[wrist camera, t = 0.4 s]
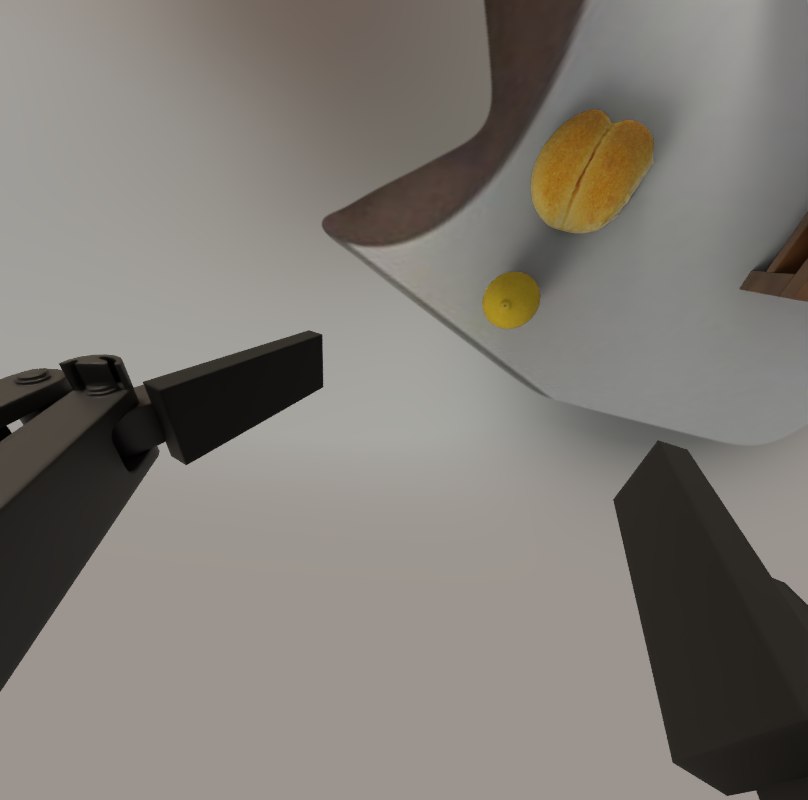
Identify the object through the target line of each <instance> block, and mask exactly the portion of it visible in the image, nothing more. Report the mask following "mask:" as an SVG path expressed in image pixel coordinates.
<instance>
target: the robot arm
mask: <svg viewBox="0 0 808 800" xmlns="http://www.w3.org/2000/svg"><path fill="white" fill-rule="evenodd" d="M322 354H323V353H322V334H319V333H315V332H312V331H306V332H302V333H299V334H296V335H293V336H290V337H286V338H284V339H280V340H277V341H273V342H270V343H267V344H264V345H261V346H258V347H254V348H251V349H248V350H244V351H241V352H238V353H235V354H232V355H228V356H225V357H222V358H219V359H216V360H212V361H209V362H206V363H203V364H199V365H196V366H193V367H190V368H186V369H183V370H180V371H177V372H174V373H170V374H167V375H164V376H161V377H158V378H154V379H151V380H148V381H145V382H143V384H144V385H141V386H138V387H134V388H133V386H132V383H131V380H130V378H129V376H128V373H127V371H126V368H125V366H124V363H123V361H122V359H121V358H120V357H117V356H114V355H90V356H83V357H77V358H74V359H69V360H67V361H64V362H62V363H60V364H59V365H60V366H61V369H62V370H63V371H62V370H58V369H45V368H44V369H39V370H38V369H32V370H29V371H24V372H21V373H18V374H15V375H11V376H8V377H6V378H3V379H0V691H1V690H2V688H3V687H4V685H5V684H6V682H7V681H8V679H9V678H10V676H11V675H12V673H13V672H14V670H15V669H16V667H17V666H18V665H19V663H20V662H21V660H22V659H23V657H24V656H25V654H26V653H27V651H28V650H29V648H30V647H31V645H32V644H33V642H34V641H35V639H36V638H37V636H38V635H39V633H40V631H41V630H42V629H43V627H44V626H45V624H46V623H47V621H48V620H49V618H50V617H51V615H52V614H53V612H54V611H55V609H56V608H57V606H58V605H59V603H60V602H61V600H62V599H63V597H64V596H65V594H66V593H67V591H68V589H69V588H70V587H71V585H72V584H73V582H74V581H75V579H76V578H77V576H78V575H79V573H80V572H81V570H82V569H83V567H84V566H85V565H86V563H87V561H88V560H89V559H90V557H91V556H92V554H93V553H94V551H95V550H96V548H97V547H98V545H99V544H100V542H101V541H102V539H103V537H104V536H105V535H106V533H107V532H108V530H109V529H110V527H111V526H112V524H113V523H114V521H115V520H116V518H117V517H118V515H119V514H120V512H121V510H122V509H123V508H124V506H125V505H126V503H127V502H128V500H129V499H130V497H131V496H132V494H133V493H134V491H135V490H136V488H137V487H138V485H139V484H140V482H141V481H142V479H143V478H144V476H145V475H146V473H147V472H148V470H149V469H150V467H151V466H152V464H153V463H154V461H155V460H156V459H157V457H158V455H159V449H158V447H157V445H159V444H161V443H164V442H166V444H167V446H168V449H169V451H170V454H171V456H172V457H174V458H176V459H177V460H179V461H180V462H182V463H184V464H185V465H187V464H189V463H191V462H193V461H194V460H196V459H198V458H200V457H201V456H203V455H205V454H207V453H208V452H210V451H212V450H214V449H215V448H217V447H219V446H221V445H222V444H224V443H226V442H228V441H229V440H231V439H233V438H235V437H236V436H238V435H240V434H242V433H243V432H245V431H247V430H249V429H250V428H252V427H254V426H256V425H258V424H259V423H261V422H263V421H264V420H266V419H268V418H270V417H272V416H273V415H275V414H277V413H279V412H280V411H282V410H284V409H285V408H287V407H289V406H291V405H292V404H294V403H296V402H298V401H299V400H301V399H303V398H305V397H307V396H308V395H310V394H312V393H313V392H315V391H317V390H319V389H321V388H322V387H323V355H322ZM18 419H20V420H21V422H22V423H23V426H22V427H21V428H19V429H18V430H16V431H15V432H13V433H11V431H10V430H9V429H8V427H7V426H6V425H8V424H10V423H12V422H14V421H16V420H18ZM613 500H614V504H615V509H616V513H617V518H618V522H619V527H620V531H621V536H622V540H623V544H624V549H625V553H626V558H627V562H628V566H629V571H630V575H631V580H632V584H633V589H634V593H635V598H636V602H637V606H638V610H639V615H640V620H641V624H642V628H643V633H644V637H645V642H646V646H647V651H648V655H649V659H650V664H651V668H652V673H653V677H654V682H655V686H656V690H657V694H658V699H659V703H660V708H661V713H662V716H663V721H664V726H665V730H666V734H667V739H668V744H669V748H670V752H671V757H672V761H673V763H675V764H676V765H678V766H680V767H681V768H683V769H684V770H686V771H688V772H689V773H691V774H692V775H694V776H696V777H697V778H699V779H701V780H702V781H704V782H706V783H707V784H709V785H710V786H712V787H714V788H715V789H717V790H719V791H720V792H722V793H724V794H725V795H727V796H729V795H734V794H740V793H745V792H749V791H755V790H756V791H757V794H758V796H759V799H760V800H808V605H807V604H806V603H805V602H804V601H803V600H802V599H801V598H800V597H799V596H798V595H797V594H796V593H795V592H794V591H793V590H792V589H791V588H790V587H789V586H788V585H787V584H786V583H784V582H781V581H779V580H776V579H774V578H772V577H771V576H770V574H769V572H768V571H767V570H766V568H765V566H764V565H763V563H762V562H761V560H760V559H759V557H758V556H757V554H756V553H755V551H754V550H753V548H752V547H751V545H750V544H749V542H748V541H747V539H746V538H745V536H744V535H743V533H742V532H741V530H740V529H739V527H738V526H737V524H736V523H735V521H734V519H733V518H732V516H731V515H730V514H729V512H728V510H727V509H726V507H725V506H724V504H723V503H722V501H721V500H720V498H719V497H718V495H717V494H716V492H715V491H714V489H713V488H712V486H711V485H710V483H709V482H708V480H707V479H706V477H705V476H704V474H703V473H702V471H701V470H700V468H699V467H698V465H697V464H696V462H695V460H694V459H693V458H692V456H691V455H690V453H689V452H688V450H687V449H683V448H680V447H677V446H674V445H671V444H668V443H664V442H661V441H657V442H656V444H655V445H654V446H653V448H652V449H651V450H650V452H649V453H648V454H647V456H646V457H645V458H644V460H643V461H642V462H641V464H640V465H639V466H638V468H637V469H636V470H635V472H634V473H633V474H632V476H631V477H630V478H629V480H628V481H627V482H626V484H625V485H624V486H623V487H622V489H621V490H620V491H619V493H618V494H617V495H616V497H615V498H614V499H613Z"/></svg>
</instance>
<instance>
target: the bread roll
mask: <svg viewBox="0 0 808 800" xmlns="http://www.w3.org/2000/svg"><path fill="white" fill-rule="evenodd" d="M653 149H654V142H653V137H652V135H651V133H650V132H649V130H648V129H647V128H646V127H645V126H644V125H643V124H641V123H639V122H637V121H631V120H624V121H620V122H617V123H612V122H611V121H610V119H609V117H608V116H607V115H606V114H605V113H604V112H602V111H600V110H594V109H593V110H588V111H585V112H582V113H580V114H578V115H576V116H575V117H573V118H571V119H570V120H568V121H567V122H566V123H564V124H563V125H562V126H561V127H559V128H558V130H557V131H556V132H555V133H554V134H553V135H552V136H551V137H550V139H549V140H548V141H547V142H546V144H545V145H544V146H543V148H542V150H541V151H540V153H539V155H538V157H537V160H536V162H535V165H534V167H533V171H532V177H531V196H532V200H533V204H534V207H535V209H536V211H537V213H538V215H539V216H540V217H541V219H542V220H543V221H544V222H545V223H546V224H547V225H549V226H550V227H552V228H554V229H559V230H562V231H566V232H569V233H588V232H593V231H596V230H599V229H601V228H602V227H604V226H605V225H607V224H608V223H609V222H611V221H612V220H614V219H615V218H616V217H617V216H618V214H619V213H620V212H621V210H622V209H623V208H624V206H625V205H626V204H627V202H628V201H629V200H630V198H631V197H632V194H633V193H634V191H636V189H637V188H638V186H639V185H640V183H641V181H642V179H643V177H644V176H645V175H646V173H647V172H648V171H649V169H650V168H651V166H652V165H653V164H654V162H655V161H654V159H653Z"/></svg>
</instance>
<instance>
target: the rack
mask: <svg viewBox="0 0 808 800" xmlns="http://www.w3.org/2000/svg"><path fill="white" fill-rule="evenodd" d="M740 290H746V291H751V292H756V293H762V294H767V295H773V296H778V297H783V298H789V299H794V300H801V301H808V212H807V214H806V215H805V217H804V218H803V220H802V221H801V222H800V224H799V225H798V227H797V228H796V230H795V231H794V232H793V234H792V235H791V237H790V238H789V240H788V241H787V242H786V244H785V245H784V247H783V248H782V250H781V251H780V252H779V254H778V255H777V257H776V258H775V259H774V261H773V262H772V264H771V265H770V267H769V268H768V269H767V271H766V272H761V271H751V273H750V274H749V275H748V277H747V278H746V280H745V281H744V283H743V284H742V286H741V287H740Z"/></svg>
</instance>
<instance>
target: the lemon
mask: <svg viewBox="0 0 808 800" xmlns="http://www.w3.org/2000/svg"><path fill="white" fill-rule="evenodd" d="M539 303H540V290H539V287H538V285H537V283H536V282H535V280H534V279H533V278H532V277H530V276H529V275H527V274H525V273H522V272H508V273H504V274H502V275H500V276H499V277H497V278H496V279H495V280H493V281H492V282H491V283H490V285H489V286H488V288H487V289H486V291H485V294H484V297H483V310H484V313H485V316H486V317H487V319H488V320H489V321H490V322H491V323H492V324H493V325H495V326H497V327H500V328H504V329H510V328H515V327H519V326H521V325H523V324H525V323H526V322H527V321H529V320H530V319H531V318H532V317H533V315H534V314H535V312H536V311H537V309H538V306H539Z"/></svg>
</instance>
